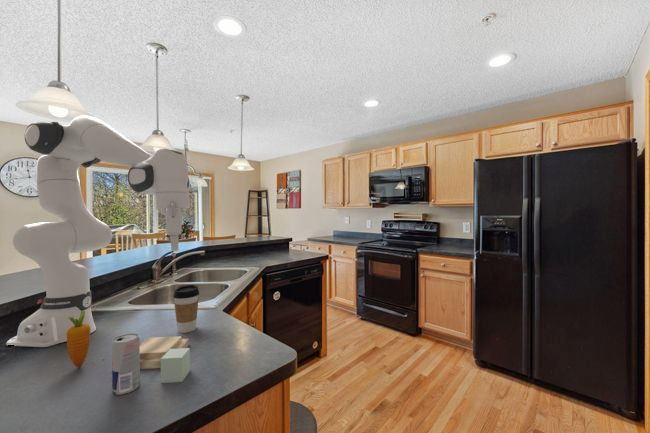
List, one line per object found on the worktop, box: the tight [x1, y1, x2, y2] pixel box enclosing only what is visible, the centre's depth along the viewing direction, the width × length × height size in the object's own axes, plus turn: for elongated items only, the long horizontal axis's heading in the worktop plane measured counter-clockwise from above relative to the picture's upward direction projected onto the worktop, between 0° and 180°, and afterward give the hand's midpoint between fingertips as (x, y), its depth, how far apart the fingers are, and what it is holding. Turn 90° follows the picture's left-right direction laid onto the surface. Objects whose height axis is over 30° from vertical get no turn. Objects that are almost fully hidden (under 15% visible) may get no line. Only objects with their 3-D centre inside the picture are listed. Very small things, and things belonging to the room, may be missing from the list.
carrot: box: [66, 311, 91, 369], centre depth 75 cm, size 5×5×15 cm
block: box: [160, 347, 191, 384], centre depth 71 cm, size 5×5×6 cm
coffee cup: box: [172, 284, 200, 334], centre depth 100 cm, size 8×8×15 cm
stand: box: [139, 335, 190, 370], centre depth 81 cm, size 13×13×4 cm
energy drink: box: [111, 333, 141, 396], centre depth 66 cm, size 5×5×12 cm
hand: (175, 249), depth 83 cm, fingers open, 8 cm apart
